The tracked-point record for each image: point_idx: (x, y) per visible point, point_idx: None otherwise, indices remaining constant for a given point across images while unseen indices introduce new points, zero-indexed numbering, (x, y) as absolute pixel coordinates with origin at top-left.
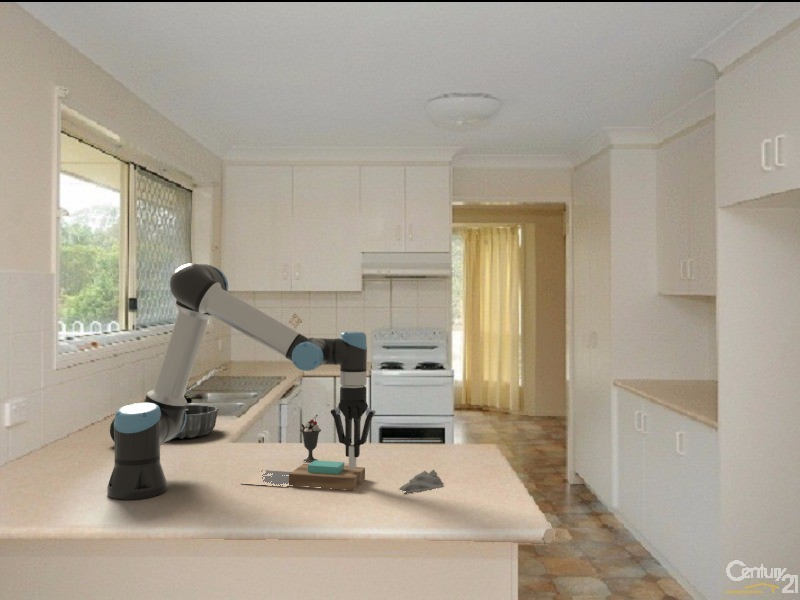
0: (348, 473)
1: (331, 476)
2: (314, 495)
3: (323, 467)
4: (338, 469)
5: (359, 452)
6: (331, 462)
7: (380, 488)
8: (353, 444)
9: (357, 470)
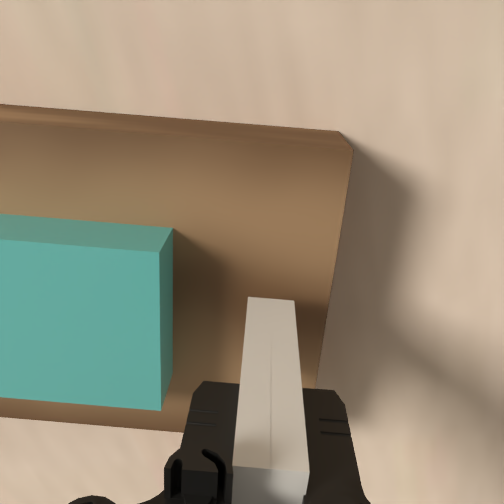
0: (243, 343)
1: (147, 421)
2: (118, 463)
3: (41, 393)
4: (165, 383)
5: (347, 430)
6: (46, 281)
7: (462, 319)
8: (262, 469)
9: (298, 256)
